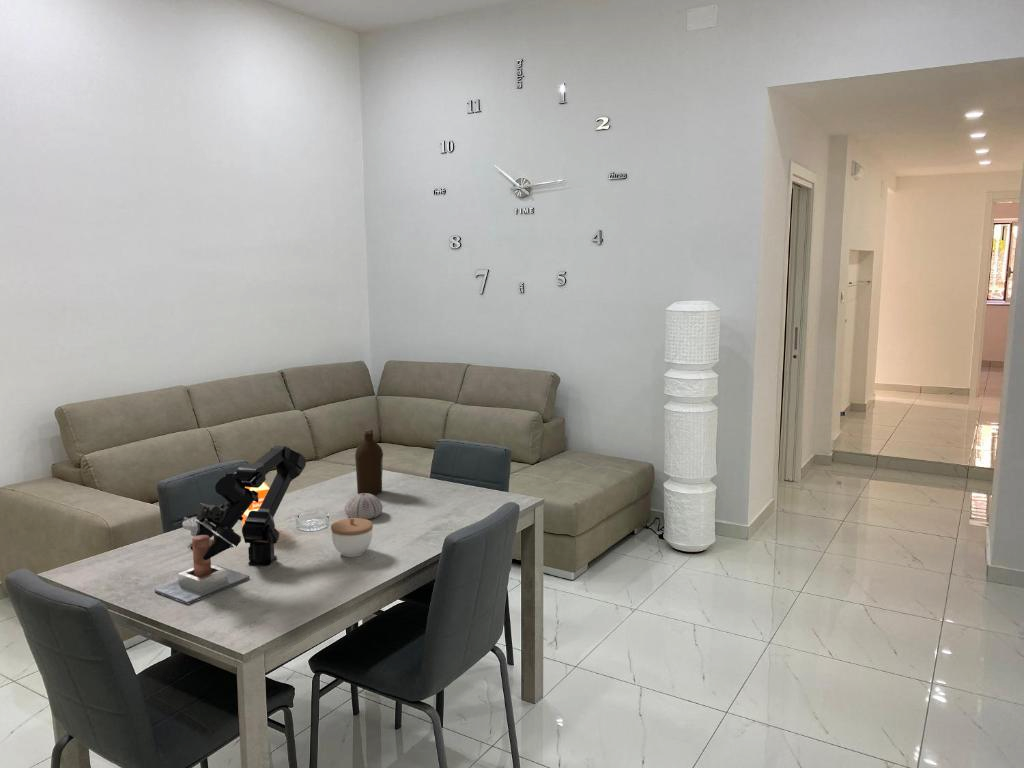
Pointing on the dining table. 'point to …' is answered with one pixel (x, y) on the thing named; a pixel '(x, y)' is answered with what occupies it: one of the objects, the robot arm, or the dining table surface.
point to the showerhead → (191, 525)
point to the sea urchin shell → (363, 506)
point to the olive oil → (369, 465)
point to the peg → (201, 555)
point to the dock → (201, 584)
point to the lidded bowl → (352, 536)
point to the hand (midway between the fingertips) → (197, 554)
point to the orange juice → (255, 505)
